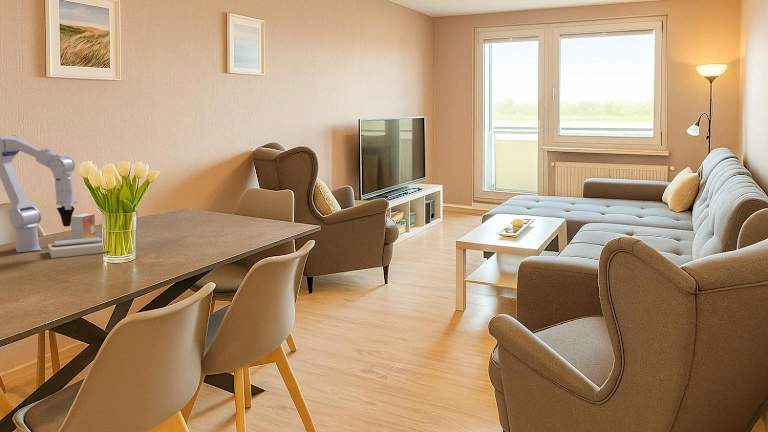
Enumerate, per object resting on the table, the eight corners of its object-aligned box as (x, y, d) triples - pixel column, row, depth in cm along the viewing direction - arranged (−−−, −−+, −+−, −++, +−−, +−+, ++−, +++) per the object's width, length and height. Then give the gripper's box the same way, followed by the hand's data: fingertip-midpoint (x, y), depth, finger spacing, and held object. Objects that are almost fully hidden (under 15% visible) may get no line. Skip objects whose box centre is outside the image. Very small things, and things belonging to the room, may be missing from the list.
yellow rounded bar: (67, 243, 243) (68, 251, 243) (68, 243, 240) (69, 251, 240) (93, 241, 247) (93, 248, 248) (94, 241, 245) (94, 248, 245)
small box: (84, 242, 259) (82, 216, 257) (71, 241, 260) (69, 216, 258) (96, 238, 267) (94, 213, 265) (84, 237, 268) (82, 213, 266)
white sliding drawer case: (51, 258, 232) (51, 250, 232) (48, 252, 241) (47, 244, 241) (110, 251, 243) (109, 244, 242) (104, 246, 252) (104, 238, 252)
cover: (54, 246, 236) (54, 244, 236) (52, 243, 241) (52, 241, 241) (102, 241, 245) (102, 239, 245) (100, 238, 250) (99, 236, 250)
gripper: (79, 191, 232) (81, 228, 235) (72, 187, 244) (75, 222, 247) (57, 193, 229) (60, 230, 231) (52, 188, 240) (55, 223, 243)
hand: (66, 226), depth 239 cm, fingers closed
